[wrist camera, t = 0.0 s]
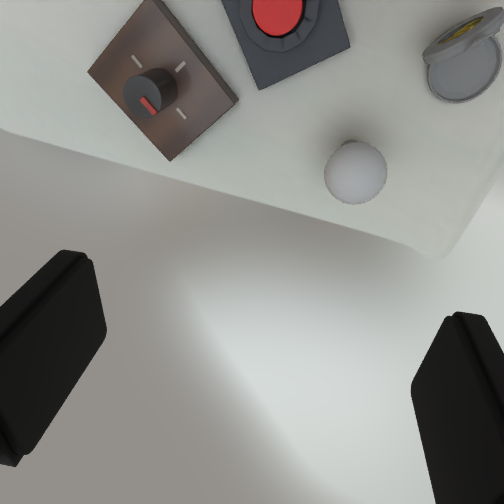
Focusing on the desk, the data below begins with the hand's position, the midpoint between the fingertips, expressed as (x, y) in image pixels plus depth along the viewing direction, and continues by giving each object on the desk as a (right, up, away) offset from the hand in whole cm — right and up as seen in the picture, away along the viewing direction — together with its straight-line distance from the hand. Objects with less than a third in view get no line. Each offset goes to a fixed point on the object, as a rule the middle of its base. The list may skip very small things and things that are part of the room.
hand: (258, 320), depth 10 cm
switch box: (+3, +27, +27) cm, 38 cm away
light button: (+2, +25, +24) cm, 35 cm away
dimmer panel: (-10, +21, +33) cm, 41 cm away
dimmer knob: (-10, +20, +31) cm, 38 cm away
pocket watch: (+21, +22, +27) cm, 41 cm away
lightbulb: (+12, +14, +34) cm, 39 cm away
